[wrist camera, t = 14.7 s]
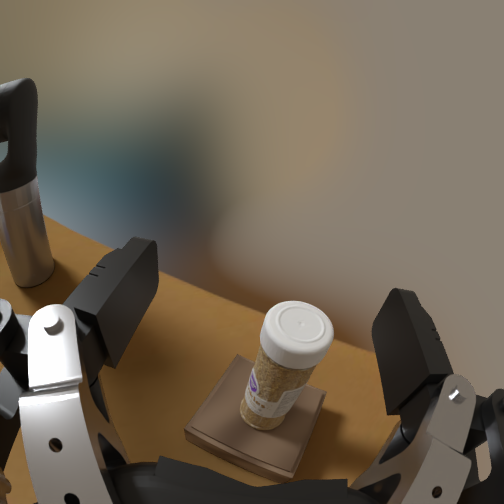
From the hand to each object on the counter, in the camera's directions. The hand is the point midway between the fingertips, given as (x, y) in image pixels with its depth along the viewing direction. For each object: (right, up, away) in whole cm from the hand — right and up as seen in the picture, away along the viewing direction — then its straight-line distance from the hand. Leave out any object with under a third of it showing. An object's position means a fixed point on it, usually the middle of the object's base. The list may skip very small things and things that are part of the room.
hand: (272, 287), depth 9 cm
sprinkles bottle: (0, -15, +15) cm, 21 cm away
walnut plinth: (0, -18, +17) cm, 25 cm away
